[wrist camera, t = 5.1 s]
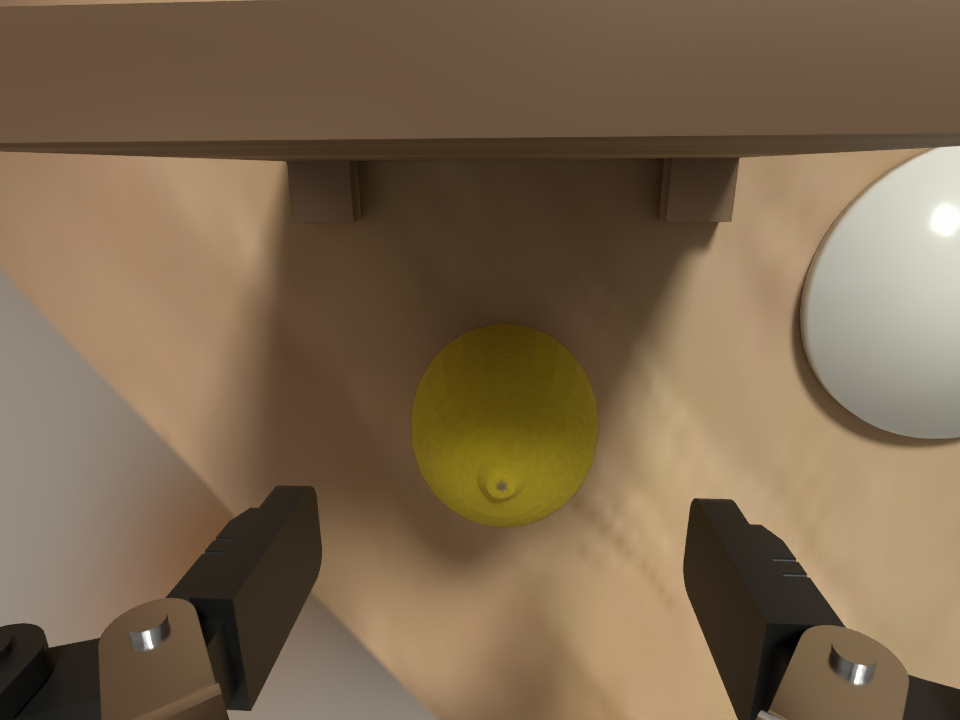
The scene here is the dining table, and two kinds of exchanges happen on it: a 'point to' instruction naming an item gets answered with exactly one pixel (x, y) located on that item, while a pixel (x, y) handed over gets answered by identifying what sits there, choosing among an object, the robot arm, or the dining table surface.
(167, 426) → the dining table surface
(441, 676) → the dining table surface
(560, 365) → the lemon
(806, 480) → the dining table surface
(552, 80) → the walnut screen
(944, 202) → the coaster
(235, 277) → the dining table surface
